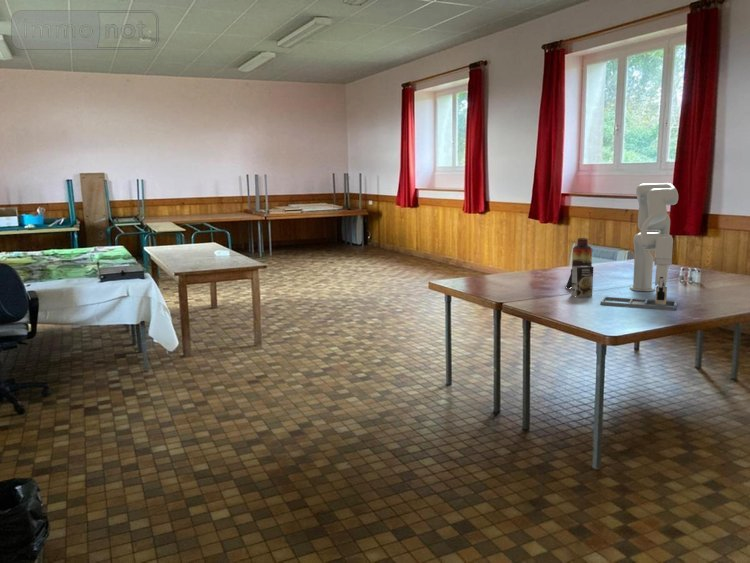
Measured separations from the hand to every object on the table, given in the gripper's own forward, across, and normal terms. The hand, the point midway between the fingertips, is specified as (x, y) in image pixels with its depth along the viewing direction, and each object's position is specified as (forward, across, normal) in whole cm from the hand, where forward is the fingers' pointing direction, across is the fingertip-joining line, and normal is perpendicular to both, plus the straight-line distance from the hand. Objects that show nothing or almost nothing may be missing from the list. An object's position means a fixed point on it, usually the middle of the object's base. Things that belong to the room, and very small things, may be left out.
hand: (661, 298), depth 297 cm
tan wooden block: (+2, 0, 0) cm, 2 cm away
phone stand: (+4, -32, -46) cm, 56 cm away
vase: (+4, -56, -47) cm, 73 cm away
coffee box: (+4, -12, -39) cm, 41 cm away
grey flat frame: (+4, 0, -10) cm, 11 cm away
